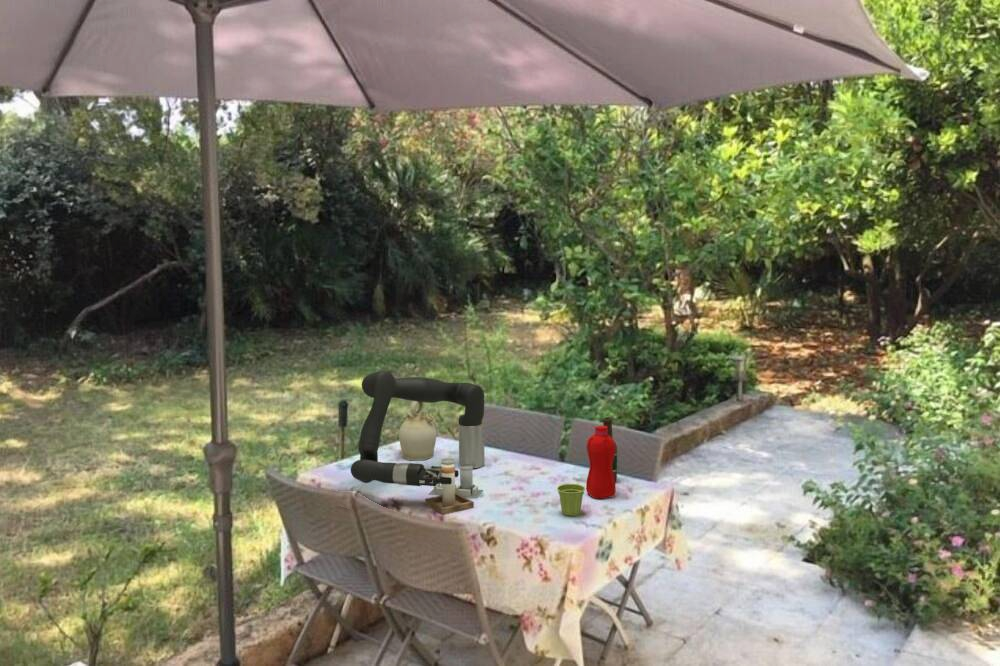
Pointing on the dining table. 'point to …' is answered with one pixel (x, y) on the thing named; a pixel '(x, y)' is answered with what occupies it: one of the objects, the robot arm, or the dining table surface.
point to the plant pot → (571, 498)
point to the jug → (417, 434)
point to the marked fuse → (448, 489)
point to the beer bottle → (608, 423)
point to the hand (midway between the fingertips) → (454, 477)
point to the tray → (460, 505)
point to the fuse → (466, 477)
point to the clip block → (458, 491)
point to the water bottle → (601, 464)
